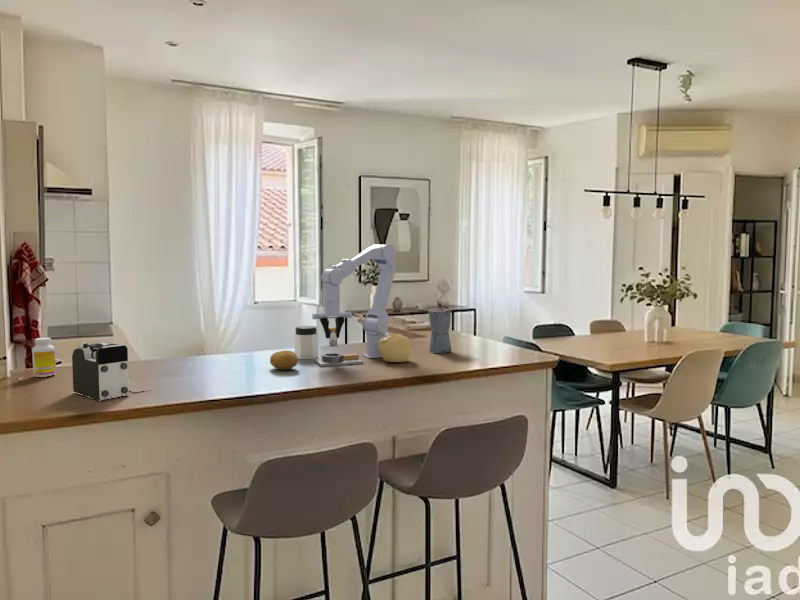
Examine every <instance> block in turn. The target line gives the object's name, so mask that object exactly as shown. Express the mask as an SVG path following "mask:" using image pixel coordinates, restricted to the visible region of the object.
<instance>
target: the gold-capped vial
mask: <svg viewBox="0 0 800 600" xmlns="http://www.w3.org/2000/svg"><path fill="white" fill-rule="evenodd" d="M328 341H329V344H328V345H329V347H338V345H339V343H338V338H337V327H336V326H334V327H329V338H328Z"/></svg>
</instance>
